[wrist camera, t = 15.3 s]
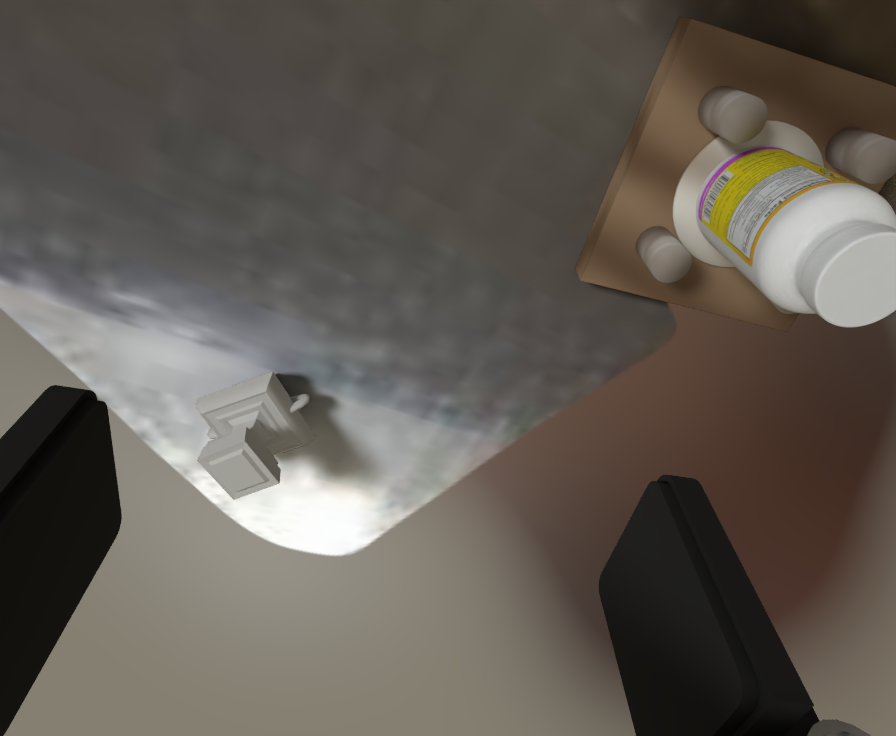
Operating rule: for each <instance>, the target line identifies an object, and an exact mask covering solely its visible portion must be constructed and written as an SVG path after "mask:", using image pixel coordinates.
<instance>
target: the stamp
mask: <svg viewBox="0 0 896 736" xmlns="http://www.w3.org/2000/svg"><path fill="white" fill-rule="evenodd" d="M309 400H310V396H309V395H307V394H301V395H296V396H291V397H290V396H289V395H288V393H287V392H286V390H285V389H284V387H283V386H282V384H281V383H280V381H279V380H278V378H277V377H276V375H275V374H274V372H270V373H268V374H265V375H262V376H259V377H256V378H254V379H251V380H248V381H245V382H242V383H240V384H237V385H234V386H231V387H228V388H226V389H223V390H220V391H217V392H214V393H212V394H209V395H206V396H203V397H200V398H197V399H196V403H195V405H196V409H197V411H198V412H199V413H200V415H201V416H202V417H203V418H204V420H205V421H206V422H207V424H208V425H209V426H210V427H211V428H210V429H209V431H208V433H207V435H208V436H209V437H210V438H211V439H215V438H218V439H215V440H212V441H209V442H208V443H207V445H206V446H205V447H203V449H202V451H201V454H200V456H199V458H198V460H197V461H198V462H199V463H200V464H201V465H202V466H203V467H204V468H205V469H206V471H207V472H208V473H209V474H210V475H211V476H212V477H213V478H214V479H215V480H216V481H217V482H218V483H219V484H220V486H221V487H222V488H223V489H224V490H225V491H226V492H227V493H228V494H229V495H230V496H231V497H232V498H233V499H237V498H240V497H243V496H245V495H248V494H251V493H254V492H257V491H259V490H262V489H265V488H268V487H271V486H274V485H276V484H279V482H280V471H281V470H280V468H279V467H278V466H277V464H278V462H277V460H276V459H275V457H274V456H273V455H276V454H280V453H283V452H286V451H289V450H292V449H295V448H298V447H301V446H304V445H307V444H309V443H311V442H312V441H313V440H314V438H315V434H314V433H313V431H312V430H311V428H310V427H309V425H308V424H307V422H306V421H305V419H304V418H303V416H302V414H301V413H300V411H299V410H298V409H301V408H302V407H304V406H305V405H306V404H307V403H309Z"/></svg>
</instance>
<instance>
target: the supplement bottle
mask: <svg viewBox="0 0 896 736" xmlns="http://www.w3.org/2000/svg"><path fill="white" fill-rule="evenodd" d="M696 220H697V224H698V227H699V229H700V231H701V233H702V235H703V236H704V237H705V239H706V240H707V241H708V242H709V243H710V244H711V245H712V246H713V247H714V248H715V249H716V250H717V251H718V252H719V253H720V254H722V255H723V256H724V257H725V258H726V259H727V260H728V261H729V262H730V263H731V264H732V265H733V266H735V267H736V268H737V269H738V270H739V271H740V272H741V273H742V274H743V275H744V276H745V277H746V278H747V279H748V280H749V281H750V282H751V283H752V284H754V285H755V286H756V287H757V288H758V289H759V290H760V291H761V292H762V293H763V294H764V295H765V296H766V297H767V298H768V299H769V300H770V301H772V302H773V303H774V304H776V305H777V306H779V307H781V308H783V309H786V310H789V311H792V312H796V313H804V314H815V313H817V314H818V315H819V316H820V317H822V318H823V319H824V320H826V321H827V322H829V323H831V324H834V325H836V326H840V327H859V326H865V325H868V324H871V323H874V322H876V321H878V320H881V319H883V318H884V317H886V316H888V315H889V314H891V313H892V312H894V311H895V310H896V215H895V213H894V211H893V209H892V207H891V206H890V204H889V203H888V202H887V201H886V200H885V199H884V198H883V197H882V196H880V195H879V194H877V193H876V192H874V191H872V190H870V189H868V188H866V187H864V186H862V185H860V184H858V183H856V182H854V181H851V180H849V179H847V178H845V177H843V176H840V175H838V174H836V173H834V172H832V171H830V170H828V169H826V168H824V167H822V166H819V165H817V164H815V163H813V162H811V161H809V160H807V159H804V158H802V157H800V156H798V155H796V154H794V153H792V152H789V151H787V150H784V149H782V148H779V147H775V146H768V145H761V146H753V147H749V148H745V149H742V150H740V151H738V152H736V153H734V154H732V155H731V156H729V157H727V158H726V159H725V160H723V161H722V162H721V163H720V164H718V165H717V166H716V167H715V168H714V169H713V170H712V172H711V173H710V174H709V175H708V177H707V178H706V180H705V181H704V183H703V185H702V187H701V189H700V192H699V194H698V198H697V202H696Z"/></svg>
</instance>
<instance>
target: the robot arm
mask: <svg viewBox="0 0 896 736" xmlns="http://www.w3.org/2000/svg"><path fill="white" fill-rule="evenodd" d="M120 524H121V507H120V500H119V492H118V484H117V477H116V469H115V462H114V454H113V446H112V439H111V431H110V424H109V416H108V409H107V405H106V403H105V402H103V401H97V397H96V394H95V393H94V392H93V391H91V390H84V389H78V388H71V387H63V386H57V385H54V386H50V387H49V388H48V389H47V390H45V391H44V392H43V393H42V395H41V396H40V397H39V398H38V399H37V400H36V401H35V402H34V403H33V404H32V406H30V407H29V409H28V410H27V411H26V412H25V413H24V414H23V415H22V416H21V417H20V418H19V419H18V420H17V422H16V423H15V424H14V425H13V426H12V427H11V428H10V429H9V430H8V431H7V432H6V433H5V434H4V435H3V436H2V438H1V439H0V736H3V735H4V734H5V732H6V731H7V729H8V728H9V726H10V724H11V722H12V720H13V719H14V716H15V715H16V713H17V711H18V710H19V708H20V706H21V704H22V703H23V701H24V699H25V697H26V696H27V694H28V692H29V690H30V689H31V687H32V685H33V683H34V682H35V680H36V678H37V676H38V674H39V673H40V671H41V669H42V667H43V666H44V664H45V662H46V660H47V659H48V657H49V655H50V653H51V651H52V650H53V648H54V646H55V644H56V643H57V641H58V639H59V637H60V636H61V634H62V632H63V630H64V628H65V627H66V625H67V623H68V621H69V620H70V618H71V616H72V614H73V613H74V611H75V609H76V607H77V605H78V604H79V602H80V600H81V598H82V597H83V594H84V593H85V591H86V589H87V588H88V586H89V584H90V582H91V581H92V579H93V577H94V575H95V574H96V571H97V570H98V568H99V567H100V565H101V563H102V561H103V559H104V558H105V556H106V554H107V552H108V551H109V549H110V547H111V545H112V543H113V542H114V540H115V538H116V536H117V534H118V531H119V529H120ZM599 594H600V598H601V602H602V606H603V610H604V613H605V617H606V621H607V625H608V629H609V632H610V637H611V640H612V644H613V648H614V652H615V656H616V660H617V664H618V667H619V671H620V675H621V679H622V683H623V686H624V690H625V694H626V698H627V702H628V706H629V710H630V713H631V717H632V721H633V725H634V729H635V733H636V736H870V735H869V734H868V733H866V732H864V731H862V730H861V729H859V728H857V727H856V726H854V725H852V724H849V723H845V722H842V721H839V720H822V721H819V719H818V717H817V715H816V713H815V711H814V709H813V706H814V704H813V703H812V701H811V699H810V697H809V695H808V693H807V691H806V689H805V687H804V685H803V683H802V681H801V679H800V677H799V675H798V673H797V671H796V669H795V668H794V666H793V663H792V662H791V660H790V658H789V656H788V654H787V652H786V650H785V648H784V646H783V644H782V642H781V640H780V638H779V637H778V634H777V632H776V630H775V628H774V626H773V625H772V623H771V621H770V619H769V617H768V615H767V613H766V611H765V609H764V607H763V605H762V603H761V601H760V599H759V597H758V595H757V593H756V591H755V590H754V587H753V585H752V584H751V582H750V580H749V578H748V576H747V574H746V572H745V570H744V568H743V566H742V564H741V562H740V560H739V558H738V556H737V554H736V552H735V550H734V548H733V546H732V544H731V543H730V541H729V539H728V537H727V535H726V533H725V531H724V529H723V527H722V525H721V523H720V521H719V519H718V517H717V515H716V513H715V511H714V509H713V508H712V505H711V503H710V502H709V500H708V498H707V496H706V494H705V492H704V490H703V488H702V486H701V484H700V483H699V482H698V481H697V480H695V479H692V478H685V477H679V476H672V475H662V476H661V477H660V478H659V479H658V480H657V481H652V482H650V483H649V485H648V486H647V488H646V490H645V492H644V494H643V495H642V497H641V499H640V501H639V503H638V505H637V507H636V509H635V511H634V513H633V514H632V516H631V518H630V520H629V522H628V524H627V526H626V528H625V529H624V531H623V533H622V535H621V537H620V539H619V541H618V543H617V545H616V547H615V548H614V550H613V552H612V554H611V556H610V558H609V560H608V562H607V564H606V565H605V568H604V569H603V571H602V573H601V576H600V580H599Z"/></svg>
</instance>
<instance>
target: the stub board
mask: <svg viewBox="0 0 896 736" xmlns="http://www.w3.org/2000/svg"><path fill="white" fill-rule="evenodd" d="M761 145H768V146H775V147H779V148H782V149H784V150H787V151H789V152H792V153H794V154H796V155H798V156H800V157H802V158H804V159H807V160H809V161H811V162H813V163H815V164H817V165H819V166H822V167H824V168H826V169H828V170H830V171H832V172H834V173H836V174H838V175H840V176H843V177H845V178H847V179H849V180H851V181H854V182H856V183H858V184H860V185H862V186H864V187H866V188H868V189H870V190H872V191H874V192H876V193H877V194H878V193H879V191H880V190H881V188H882V187H883V185H884V183H885V182H886V180H888V179H889V178H891V177H892V176H893V175H894V174H895V173H896V87H895V86H892V85H889V84H886V83H883V82H880V81H877V80H874V79H871V78H868V77H865V76H862V75H859V74H856V73H853V72H850V71H847V70H844V69H841V68H838V67H835V66H832V65H829V64H826V63H823V62H820V61H817V60H814V59H811V58H808V57H805V56H802V55H799V54H796V53H793V52H790V51H787V50H784V49H781V48H778V47H775V46H772V45H769V44H766V43H763V42H760V41H757V40H754V39H751V38H748V37H745V36H742V35H739V34H736V33H733V32H730V31H727V30H724V29H721V28H718V27H715V26H712V25H709V24H706V23H703V22H700V21H697V20H694V19H691V18H684V17H679V18H678V20H677V23H676V25H675V27H674V30H673V32H672V35H671V37H670V40H669V42H668V44H667V47H666V49H665V52H664V54H663V56H662V59H661V61H660V64H659V66H658V69H657V71H656V73H655V76H654V78H653V81H652V83H651V86H650V88H649V90H648V93H647V95H646V98H645V100H644V103H643V105H642V107H641V110H640V112H639V115H638V117H637V120H636V122H635V124H634V127H633V129H632V132H631V134H630V137H629V139H628V141H627V144H626V146H625V149H624V151H623V154H622V156H621V158H620V161H619V163H618V166H617V168H616V170H615V173H614V175H613V178H612V180H611V183H610V185H609V187H608V190H607V192H606V195H605V197H604V200H603V202H602V204H601V207H600V209H599V212H598V214H597V217H596V219H595V221H594V224H593V226H592V229H591V231H590V234H589V236H588V238H587V241H586V243H585V246H584V248H583V251H582V253H581V255H580V258H579V260H578V263H577V265H576V268H575V270H576V272H577V274H578V276H579V278H580V280H581V281H585V282H589V283H593V284H597V285H601V286H605V287H609V288H613V289H617V290H621V291H625V292H629V293H633V294H637V295H641V296H645V297H649V298H653V299H657V300H661V301H665V302H669V303H673V304H677V305H681V306H685V307H689V308H693V309H697V310H701V311H705V312H709V313H713V314H717V315H721V316H725V317H729V318H733V319H737V320H741V321H745V322H749V323H753V324H756V325H761V326H764V327H768V328H772V329H777V330H781V331H785V332H787V331H788V330H789V328H790V327H791V325H792V324H793V322H794V321H795V319H796V318H797V316H798V315H799V313H796V312H792V311H789V310H786V309H783V308H781V307H779V306H777V305H776V304H774V303H773V302H772V301H770V300H769V299H768V298H767V297H766V296H765V295H764V294H763V293H762V292H761V291H760V290H759V289H758V288H757V287H756V286H755V285H754V284H752V283H751V282H750V281H749V280H748V279H747V278H746V277H745V276H744V275H743V274H742V273H741V272H740V271H739V270H738V269H737V268H736V267H735V266H733V265H732V264H731V263H730V262H729V261H728V260H727V259H726V258H725V257H724V256H723V255H722V254H720V253H719V252H718V251H717V250H716V249H715V248H714V247H713V246H712V245H711V244H710V243H709V242H708V241H707V240H706V239H705V237H704V236H703V235H702V233H701V231H700V229H699V227H698V224H697V220H696V202H697V198H698V194H699V192H700V189H701V187H702V185H703V183H704V181H705V180H706V178H707V177H708V175H709V174H710V173H711V172H712V170H713V169H714V168H715V167H716V166H717V165H718V164H720V163H721V162H722V161H723V160H725V159H726V158H727V157H729V156H731V155H732V154H734V153H736V152H738V151H740V150H742V149H745V148H749V147H753V146H761Z"/></svg>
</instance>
